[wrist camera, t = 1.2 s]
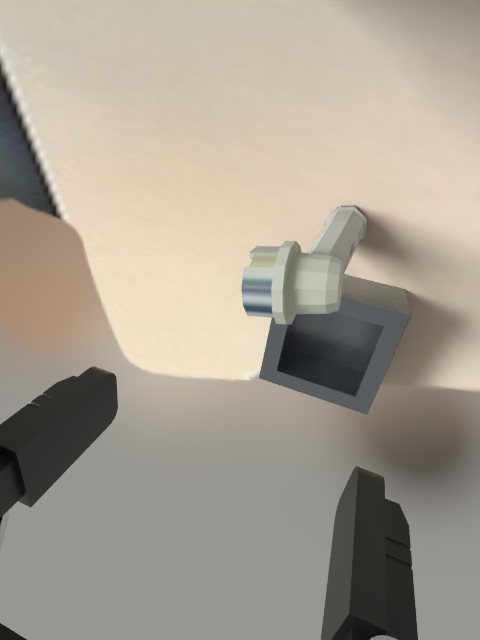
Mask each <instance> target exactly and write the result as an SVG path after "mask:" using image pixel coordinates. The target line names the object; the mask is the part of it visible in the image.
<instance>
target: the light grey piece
mask: <svg viewBox="0 0 480 640" xmlns="http://www.w3.org/2000/svg"><path fill="white" fill-rule="evenodd" d="M366 222H367V219H366V218H365V217H364V214H363V213H362V212H361V211H360V210H359V209H358V208H357V207H356V206H341V207H337V208H336V209H335V210H334V211H333V212H332V213H331V214H330V215H329V216H328V217H327V218H326V219H325V226H324V228H323V230H322V231H321V233H320V234H319V236H318V238H317V239H316V241H315V242H314V244H313V246H312V247H311V249H310V250H309V252H308V253H301V248H300V245H299V244H298V243H297V242H296V241H285V243H284V244H283V245H282V246H281V247H264V246H257V247H256V248H254V249H253V250H252V251H251V252H250V258H251V259H252V262H251V264H250V267H244V273H243V281H242V298H243V306H244V308H245V311H246V313H247V315H248V316H259V317H272V318H274V319H275V322H276V324H286V325H287V324H292V322H293V320H294V318H295V316H296V314H329V313H332V312H335V311H338V310H339V306H340V301H341V293H342V283H343V274H344V272H345V270H346V268H347V266H348V264H349V262H350V260H351V257H352V255H353V253H354V251H355V249H356V247H357V245H358V243H359V242H360V241H361V240H362V239H363V238H364V237H365V235H366Z"/></svg>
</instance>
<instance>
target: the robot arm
mask: <svg viewBox="0 0 480 640" xmlns="http://www.w3.org/2000/svg"><path fill="white" fill-rule="evenodd" d="M117 409H118V403H117V381H116V376H115V375H114V374H113V373H111V372H108V371H105V370H103V369H99V368H97V367H91V368H89V369H88V370H86V371H85V372H84V373H82V374H81V375H80V376H78V377H76V376H72V377H70V378H67V379H65V380H62V381H60V382H57V383H56V384H54V385H53V386H52V387H50V388H49V389H48V390H46V391H45V392H44V393H43V394H42V395H40V396H38V397H37V398H36V399H34V400H33V401H32V402H31V404H27V405H26V406H25V407H23V408H22V409H21V410H19V411H18V412H17V413H15V414H14V415H13V416H11V417H10V418H9V419H7V420H6V421H5V422H3V423H2V424H1V425H0V550H1V545H2V542H3V538H4V534H5V530H6V526H7V522H8V518H9V509H10V508H11V507H12V506H13V505H14V504H15V503H16V502H17V501H19V502H21V503H23V504H25V505H27V506H29V507H32V506H33V505H34V504H35V503H36V502H37V500H38V499H39V498H40V497H41V496H42V495H43V494H44V493H45V492H46V491H47V490H48V489H49V488H50V487H51V486H52V485H53V484H54V483H55V482H56V481H57V480H58V478H59V477H60V476H61V475H62V474H63V473H64V472H65V471H66V470H67V469H68V468H69V467H70V466H71V465H72V464H73V463H74V462H75V461H76V460H77V459H78V458H79V457H80V455H81V454H82V453H83V452H84V451H85V450H86V449H87V448H88V447H89V446H90V445H91V444H92V443H93V442H94V441H95V440H96V439H97V438H98V437H99V436H100V435H101V433H102V432H103V431H104V430H105V429H106V428H107V427H108V426H109V425H110V424H111V423H112V421H113V420H114V418H115V416H116V413H117ZM384 483H385V482H384V477H383V476H381V475H378V474H376V473H373V472H370V471H368V470H365V469H362V468H360V467H357V466H356V467H355V468H354V470H353V472H352V474H351V476H350V478H349V480H348V483H347V485H346V487H345V489H344V491H343V493H342V496H341V498H340V500H339V503H338V507H337V511H336V516H335V523H334V531H333V540H332V548H331V557H330V566H329V574H328V583H327V592H326V601H325V609H324V617H323V626H322V635H321V640H418V635H417V622H416V609H415V597H414V585H413V572H412V569H411V566H412V559H411V551H410V535H409V525H408V523H407V520H406V518H405V516H404V514H403V511H402V509H401V507H400V505H399V504H398V503H395V502H392V501H390V500H387V499H385V484H384ZM0 640H26V639H25V638H23V637H21V636H20V635H18V634H17V633H15V632H14V631H12V630H10V629H9V628H7V627H6V626H4V625H2V624H1V623H0Z"/></svg>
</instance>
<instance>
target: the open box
mask: <svg viewBox="0 0 480 640" xmlns="http://www.w3.org/2000/svg"><path fill="white" fill-rule="evenodd" d="M410 316H411V314H410V308H409V303H408V298H407V293H406V290H405V289H401V288H397V287H393V286H389V285H385V284H381V283H377V282H373V281H369V280H365V279H361V278H357V277H353V276H349V275H345V274H343V283H342V293H341V301H340V306H339V310H338V311H335V312H332V313H329V314H296V316H295V318H294V320H293V322H292V324H287V325H286V324H276V322H275V319H274V318H272V320H271V325H270V330H269V334H268V339H267V344H266V348H265V353H264V358H263V362H262V367H261V372H260V376H259V378H261V379H263V380H267V381H269V382H272V383H275V384H278V385H281V386H284V387H287V388H290V389H293V390H296V391H299V392H302V393H305V394H308V395H311V396H314V397H317V398H319V399H322V400H325V401H328V402H331V403H334V404H337V405H340V406H343V407H346V408H349V409H352V410H355V411H358V412H361V413H364V414H368V412H369V409H370V407H371V405H372V403H373V400H374V398H375V396H376V394H377V391H378V389H379V387H380V384H381V382H382V380H383V378H384V375H385V373H386V371H387V369H388V366H389V364H390V362H391V359H392V357H393V355H394V353H395V350H396V348H397V346H398V344H399V341H400V339H401V337H402V334H403V332H404V330H405V328H406V325H407V323H408V321H409V319H410Z"/></svg>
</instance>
